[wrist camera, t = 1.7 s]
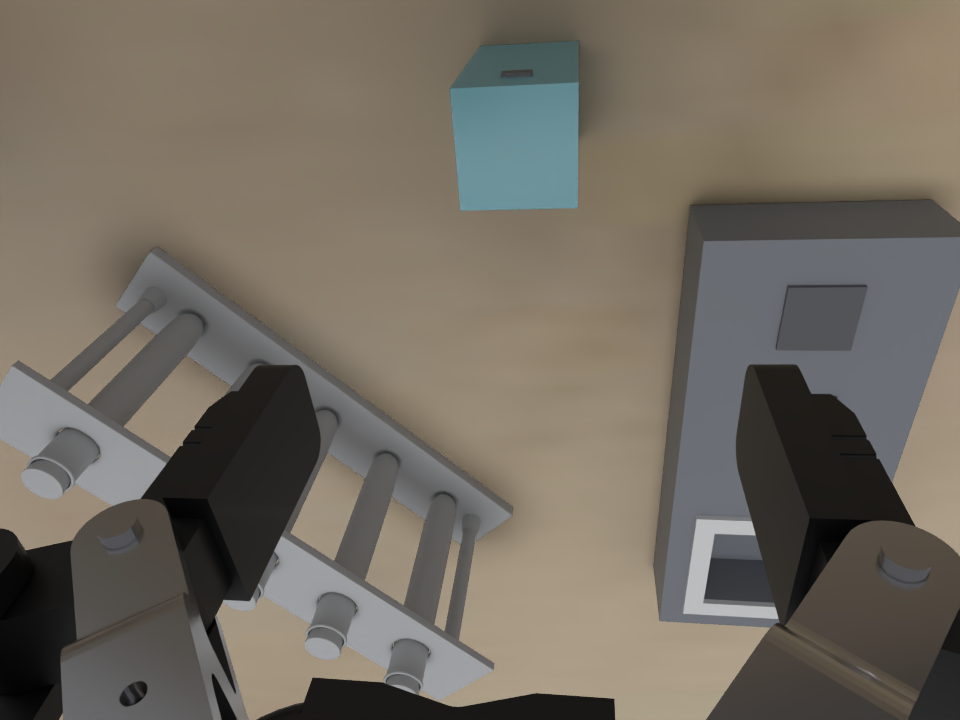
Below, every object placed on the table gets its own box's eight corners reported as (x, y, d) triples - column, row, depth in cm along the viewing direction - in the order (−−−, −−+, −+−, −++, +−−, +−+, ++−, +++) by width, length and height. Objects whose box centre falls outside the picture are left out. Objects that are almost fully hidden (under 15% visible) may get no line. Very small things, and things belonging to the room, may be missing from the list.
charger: (486, 144, 30) (460, 210, 24) (480, 42, 28) (449, 83, 21) (577, 141, 30) (577, 208, 23) (578, 37, 27) (578, 77, 21)
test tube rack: (513, 506, 42) (491, 714, 31) (467, 539, 44) (431, 745, 34) (157, 245, 35) (-33, 397, 24) (123, 299, 37) (-67, 461, 26)
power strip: (653, 566, 44) (660, 625, 40) (690, 205, 31) (705, 244, 27) (819, 574, 42) (841, 636, 39) (932, 199, 29) (981, 239, 26)
